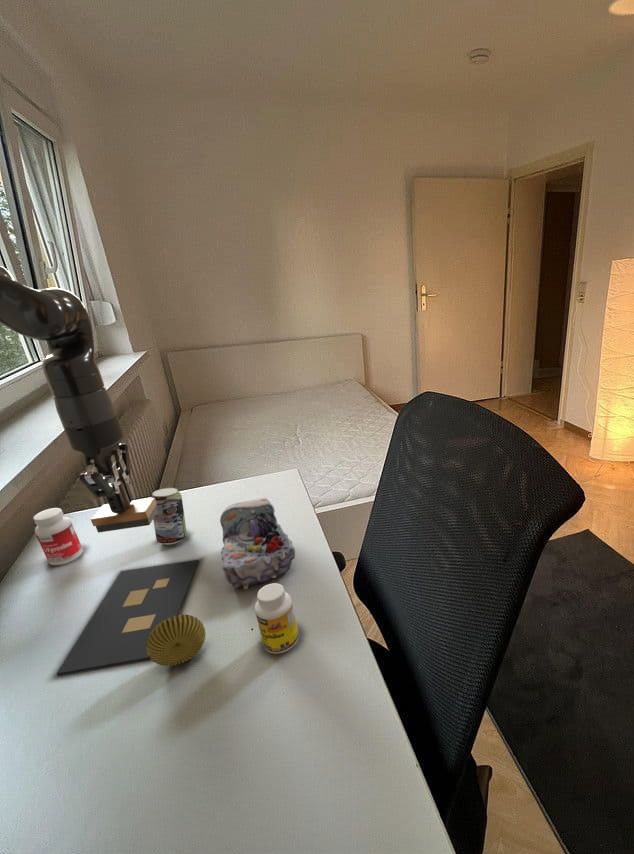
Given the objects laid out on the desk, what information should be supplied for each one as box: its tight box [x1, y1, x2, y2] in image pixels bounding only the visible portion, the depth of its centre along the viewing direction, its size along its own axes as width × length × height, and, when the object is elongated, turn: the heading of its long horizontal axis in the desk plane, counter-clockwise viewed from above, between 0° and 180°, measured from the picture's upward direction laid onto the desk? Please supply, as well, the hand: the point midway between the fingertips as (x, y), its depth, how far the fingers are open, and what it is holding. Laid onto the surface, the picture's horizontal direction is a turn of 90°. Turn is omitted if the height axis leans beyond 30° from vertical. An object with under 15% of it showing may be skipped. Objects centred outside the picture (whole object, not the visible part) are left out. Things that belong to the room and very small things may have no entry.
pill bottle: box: [32, 507, 84, 566], centre depth 93 cm, size 6×6×11 cm
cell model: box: [219, 497, 296, 590], centre depth 88 cm, size 13×11×20 cm
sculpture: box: [147, 614, 207, 667], centre depth 67 cm, size 8×4×8 cm, turn 121°
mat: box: [56, 559, 200, 676], centre depth 79 cm, size 15×24×1 cm, turn 10°
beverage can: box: [150, 487, 188, 546], centre depth 97 cm, size 6×7×12 cm
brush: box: [90, 481, 158, 534], centre depth 79 cm, size 9×5×8 cm, turn 100°
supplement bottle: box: [254, 582, 299, 654], centre depth 69 cm, size 6×6×10 cm
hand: (122, 506), depth 80 cm, fingers closed on brush, 2 cm apart
